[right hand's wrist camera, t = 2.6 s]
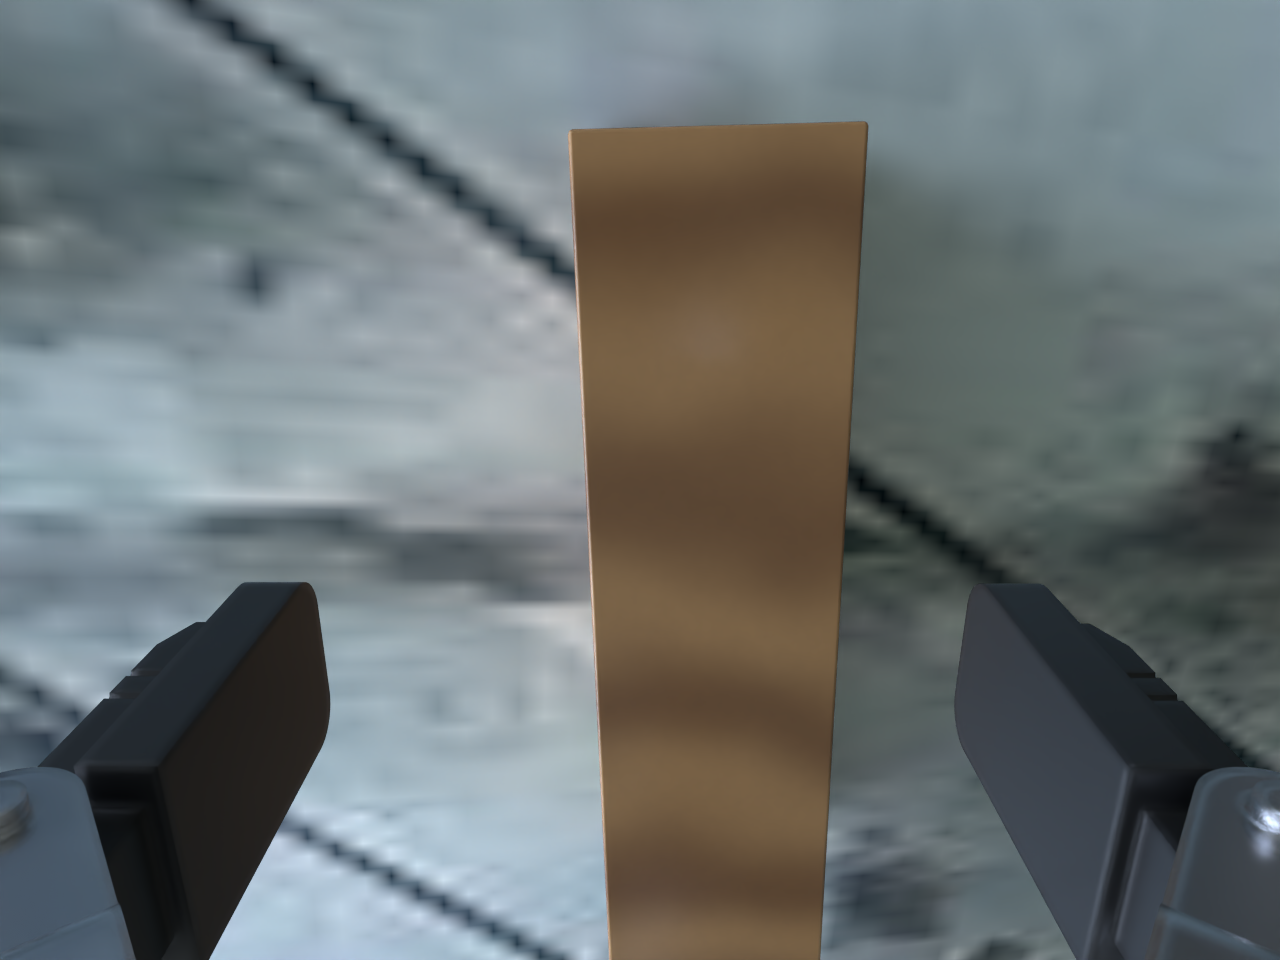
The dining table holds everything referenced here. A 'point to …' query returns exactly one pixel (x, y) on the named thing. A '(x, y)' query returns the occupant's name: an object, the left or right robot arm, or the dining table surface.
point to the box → (716, 518)
